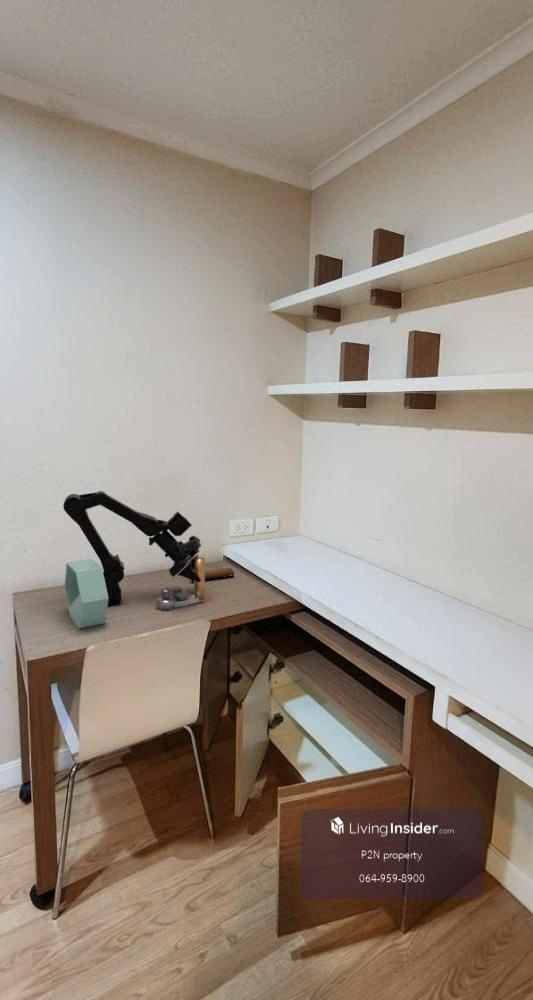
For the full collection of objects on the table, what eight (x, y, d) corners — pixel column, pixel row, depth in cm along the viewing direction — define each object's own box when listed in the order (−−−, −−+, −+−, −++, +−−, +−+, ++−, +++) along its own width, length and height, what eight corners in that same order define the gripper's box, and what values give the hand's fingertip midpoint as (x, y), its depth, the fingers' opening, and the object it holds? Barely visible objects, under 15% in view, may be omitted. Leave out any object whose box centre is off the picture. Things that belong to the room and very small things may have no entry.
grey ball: (162, 600, 166) (162, 592, 165) (159, 597, 169) (159, 588, 168) (172, 599, 167) (172, 590, 167) (169, 595, 170) (169, 587, 170)
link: (160, 611, 165) (160, 567, 162) (154, 605, 170) (153, 562, 167) (207, 602, 173) (208, 560, 171) (200, 597, 178) (200, 555, 176)
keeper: (180, 607, 169) (180, 595, 168) (169, 600, 175) (169, 588, 174) (191, 604, 172) (191, 593, 171) (180, 598, 177) (180, 586, 177)
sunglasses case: (226, 571, 208) (229, 559, 204) (232, 584, 203) (235, 573, 199) (183, 576, 199) (186, 565, 195) (188, 590, 195) (192, 579, 191)
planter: (73, 634, 157) (60, 570, 163) (98, 628, 162) (85, 567, 168) (85, 622, 144) (71, 553, 150) (112, 616, 149) (98, 550, 155)
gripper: (178, 537, 163) (212, 572, 163) (193, 524, 181) (224, 556, 182) (154, 559, 165) (188, 594, 166) (172, 544, 183) (202, 576, 184)
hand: (202, 578), depth 174 cm, fingers open, 5 cm apart
